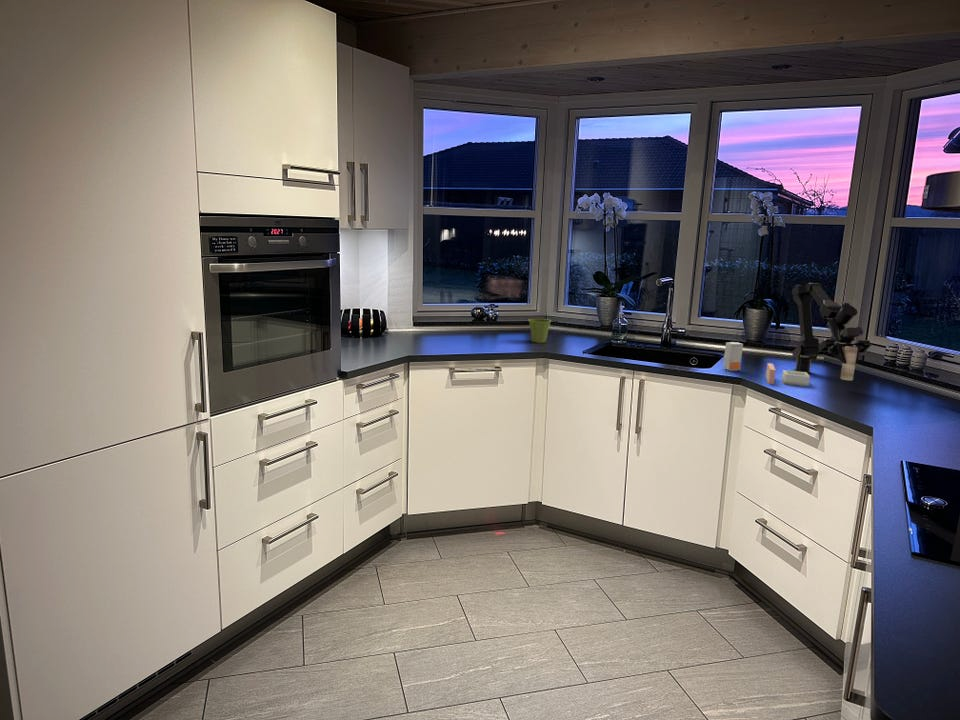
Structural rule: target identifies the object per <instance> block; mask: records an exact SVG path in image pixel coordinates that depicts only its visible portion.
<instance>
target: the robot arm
mask: <svg viewBox="0 0 960 720" xmlns="http://www.w3.org/2000/svg"><path fill="white" fill-rule="evenodd" d="M791 294H792V297H793V301H794V302H795V303H796V305H797V308H798V309H797V310H798V318H799V319H798V320H799V321H798V322H799V330H800V331H799V332H800V334H799V335H800V337H799V339H798V340H797V343H796V345H797V346H796V347H795V349H794V350H792V352H791V353H792V355H791V356H792V357H793V358H795V359H796V362H795V363H796V364H795V368H793V371H797V372H807V373H808V374H809V375H810V374H811V375H812V371H811V370H810V369H811V365H812V360H817V358H818V356H819V352H822V353H827V352H828V354H831V355H832V356H834V357H835V358H836V359H838V361H840V362H841V363H842V364H843V363H844V364H846V359H845V356H844V349H845V346H854V347H858V351H857V357H856V363H855V365H858V364H859V356H860V354H863V353H865V352H867V350H868V349H870V348H871V346H872V344H871V341H870V340H868V339H858V341H856V343H855V342H854V341H855V340H856V339H855V338H856V337H860V336H862V335H863V334H864V330H863V328H862V327H861V326H856V327H847V326H846V325H848V324H850V323H851V321H853V319H854V318H855V317H856V316H857V314H858V309H856V307H854V306H853V305H850V303H849V302H843V304H842V306H841V305H840V304H839V303H838V302H835V301H833V300H832V299H831V298H830V297H829V295H828V294H827V293H826V292H825V290H824V289H823V287H822V285H821V283H819V282H817V283H816V282H808V283H806V284H805V283H804V284H796V285H795V286H793V288H792V289H791ZM813 300H814V301H815V303H817V305H818V306H819V308H820V309H819V313H820V315H821V318H823V320H828V322H827V324H826V325H825V329H829V331H830V333H831V336H830V338H824V339H823V340H822V341H821V342H820V343H819V338H818V337H815V336H814V333H813V332H814V330H813V319H812V308H811V306H812V305H811V304H812V301H813Z"/></svg>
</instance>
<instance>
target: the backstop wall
mask: <svg viewBox="0 0 960 720" xmlns="http://www.w3.org/2000/svg"><path fill="white" fill-rule="evenodd" d="M766 366H767V367H766V373H765V379H766V382H767V384H768V385H774V384H775V379H776V373H777V372H776V371H777V370H776V368H775V365H774V363H769V362H767V364H766Z"/></svg>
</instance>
